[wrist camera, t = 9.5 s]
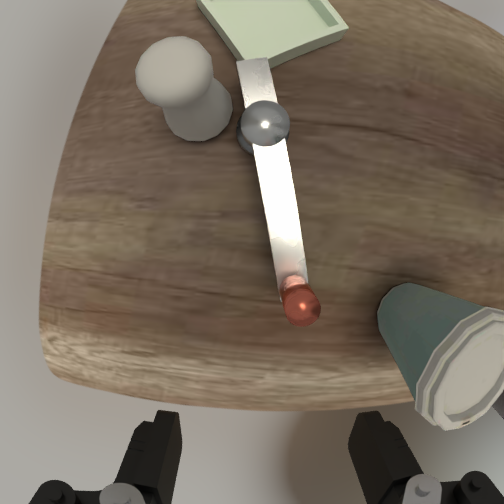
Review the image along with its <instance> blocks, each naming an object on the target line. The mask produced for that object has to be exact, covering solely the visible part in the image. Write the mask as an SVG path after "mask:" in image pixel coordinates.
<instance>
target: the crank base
mask: <svg viewBox="0 0 504 504" xmlns="http://www.w3.org/2000/svg"><path fill="white" fill-rule="evenodd" d="M241 117H242V116H241ZM241 117H240V119H239V121H238V124H237V138H238V142H239V144H240V146H241V147H242V149H243V150H244V151H245V152H247V153H248V154H250V155H252V156H254V153H253V148H252V147H250V146H249V145H248V144H247V143H246V142H245V141H244V139H243V136H242V133H241ZM288 136H289V131H288V134H287V135H286V137H285V143H286V142H287V139H288Z"/></svg>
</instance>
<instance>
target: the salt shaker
mask: <svg viewBox="0 0 504 504" xmlns="http://www.w3.org/2000/svg"><path fill="white" fill-rule="evenodd" d="M135 73H136V83H137V86H138V88H139V90H140V91H141V93H142V94H143V95H144V97H145V98H146V100H147V101H149V102H151V103H153V104H155V105H158V106H160V107H162V109H163V112H164V116H165V120H166V123H167V125H168V126H169V127H170V129H171V130H172V132H173V133H174V134H175V135H177V136H179V137H181V138H183V139H185V140H187V141H205V140H207V139H210V138H212V137H214V136H217V135H218V134H219V133H220V132H221V131H222V130H223V129H224V128H225V127H226V126H227V125H228V123H229V120H230V117H231V114H232V111H233V107H232V101H231V95H230V94H229V92H228V91H227V90H226V89H225V87H224V86H223V85H222V84H221V83H220V82H219V81H218V80H216V79H215V78H214V77H213V75H214V74H213V67H212V60H211V56H210V54H209V53H208V52H207V51H206V50H205V49H204V48H203V46H202V45H201V44H200V43H199V42H198V41H195V40H193V39H190V38H188V37H185V36H178V37H167V38H165V39H163V40H161V41H158V42H156V43H154V44H152V45H151V46H150V47H149V48H148V49H147V50H146V51H145V52H144V53H143V55H142V56H141V57H140V60H139V62H138V65H137V67H136V69H135Z"/></svg>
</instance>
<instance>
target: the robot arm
mask: <svg viewBox="0 0 504 504" xmlns="http://www.w3.org/2000/svg"><path fill="white" fill-rule="evenodd" d="M348 449H349V453H350V456H351V459H352V462H353V464H354V467H355V470H356V473H357V476H358V479H359V482H360V485H361V487H362V490H363V493H364V496H365V499H366V502H367V504H504V497H503V495H502V494H501V493H500V491H499V490H498V489H497V488H496V487H495V485H494V484H493V482H492V481H491V480H490V479H489V477H488V476H487V475H486V474H484V473H482V472H479V471H471V472H469V473H467V474H465V475H464V476H463V478H462V479H461V480H460V481H451V482H439V481H438V479H437V478H435V477H433V476H431V475H428V474H424V473H423V471H422V470H421V468H420V466H419V464H418V462H417V460H416V459H415V457H414V455H413V453H412V451H411V450H410V448H409V447H408V444H407V443H406V441H405V439H404V437H403V435H402V433H401V432H400V430H399V428H398V427H396V426H395V425H394V424H393V423H391V422H390V421H386V422H384V420H383V418H382V416H381V414H380V413H379V412H378V411H370V412H362V413H359V414H358V415H357V417H356V420H355V423H354V426H353V429H352V432H351V434H350V437H349V442H348ZM181 451H182V435H181V427H180V420H179V413H178V412H171V411H163V410H158V411H157V414H156V416H155V419H154V422H147V421H143V422H142V423H141V424H140V425H139V426H138V427H137V428H136V429H135V430H134V433H133V436H132V438H131V441H130V443H129V446H128V450H127V451H126V453H125V456H124V458H123V461H122V464H121V466H120V469H119V472H118V474H117V477H116V479H115V481H114V483H113V484H110V485H108V486H106V487H105V488H104V489H103V490H100V491H75V490H73V489H72V487H71V486H70V485H68V484H67V483H65V482H63V481H59V480H50V481H47V482H45V483H43V484H42V485H41V486H40V487H39V489H38V490H37V492H36V493H35V495H34V497H33V498H32V500H31V501H30V503H29V504H171V501H172V496H173V491H174V487H175V481H176V476H177V471H178V466H179V462H180V457H181Z"/></svg>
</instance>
